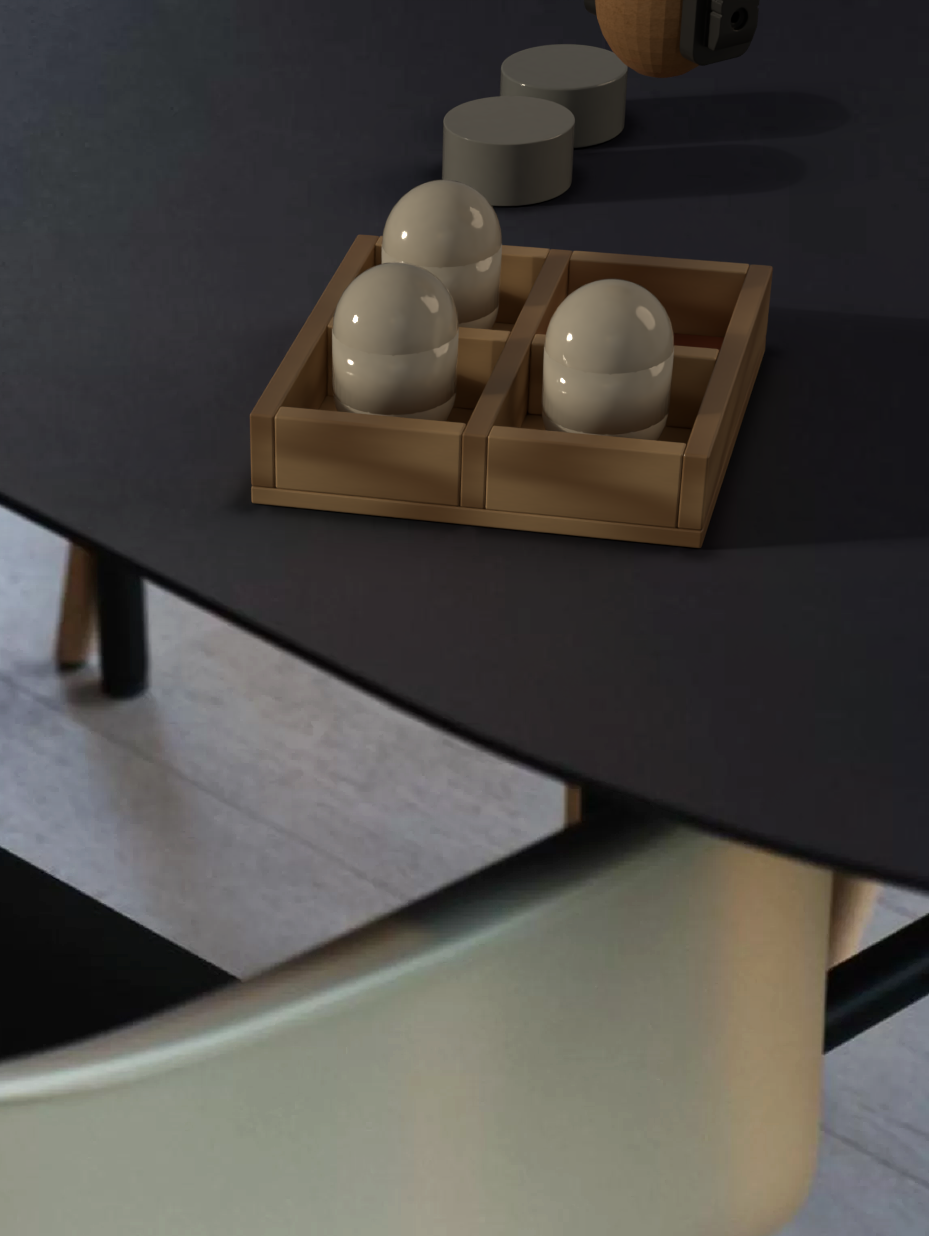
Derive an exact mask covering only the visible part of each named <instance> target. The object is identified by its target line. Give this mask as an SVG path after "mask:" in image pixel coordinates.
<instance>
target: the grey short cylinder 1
mask: <svg viewBox="0 0 929 1236" xmlns="http://www.w3.org/2000/svg"><path fill="white" fill-rule="evenodd" d="M574 131H575V118H574V115H573V113H572V112H571V111H570V110H569V109H567V108H566V107H564V106H562V105H560V104H558V103H555V102H552V101H548V100H544V99H540V98H533V97H524V96H500V95H498V96H490V97H489V96H488V97H483V98H478V99H477V98H476V99H473V100H469V101H466V102H463V103H460V104H458V105H457V106H454V107H453V108H451V109H449V110H448V111H447V113H446V114H445V115H444V117H443V121H442V161H441V180H454V181H458V182H461V183H464V184H467V185H469V186H471V187H473V188H474V189H475V190H477V191H478V192H480V193H481V194H482V195H483V196H484V197H485V198H486V199H487V200H488V202H489V203H490V204H491V205H492V207H518V206H520V207H521V206H528V205H535V204H539V203H543V202H546V201H550V200H553V199H556V198H558V197H560V196H561V195H563V194H564V193H566V192H567V191H568V190H569V188H571V185H572V182H573V167H574V166H573V165H574V151H575V150H574V149H575V148H574Z"/></svg>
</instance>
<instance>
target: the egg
mask: <svg viewBox="0 0 929 1236" xmlns="http://www.w3.org/2000/svg"><path fill="white" fill-rule="evenodd" d="M595 4H596V14H597V16H596V19H597V22H598V24H599V28H600V31H601V33H602V36H603V37H604V39H605V41H606V42H607V44H608V46H609V48H610V49H611V52H614V53H615V54H616V56H617V57H618V58H619V59H620V60H621V61H622V62H623V63H624V64H625V65H627V66H628V68H630V69H631V70H633V71H635V72H636V73H637V74H639V75H642V76H646V77H650V78H657V79H667V78H673V77H678V76H682V75H685V74H687V73H688V72H690V71H692V70H694V69H695V68H698V67H699V66H700V65H698V64H696V63H694V62H691V61H689V60H687V59H685V58H684V57H683V56H682V55H681V53H680V33H681V19H682V5H683V0H595Z"/></svg>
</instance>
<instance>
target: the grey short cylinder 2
mask: <svg viewBox="0 0 929 1236" xmlns="http://www.w3.org/2000/svg"><path fill="white" fill-rule="evenodd" d="M628 74H629V67H628V66H627V65H625V64H624V63H623V62H622V61H621V60H620V59H619V58H618V57H617V56H616V54H615V53H614V52H613V51H612V50H608V49H605V48H602V47H597V46H592V45H586V44H575V43H574V44H573V43H562V44H561V43H559V44H545V45H538V46H533V47H529V48H526V49H522V50H520V51H517V52H515V53H512V54H510V55H509V56H507V57H506V58H505V59H504V60H503V62H502V63H501V65H500V76H499V77H500V78H499V79H500V81H499V96H524V97H533V98H540V99H544V100H548V101H552V102H555V103H558V104H560V105H562V106H564V107H566V108H567V109H569V110H570V111H571V112H572V113H573V115H574V118H575V131H574V149H580V148H587V147H593V146H596V145H600V144H604V143H606V142H609V141H611V140H613V139H614V138H616V137H617V136H619V135H620V134H621V133H622V132H623V130H624V128H625V123H626V108H627V90H628Z"/></svg>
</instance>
